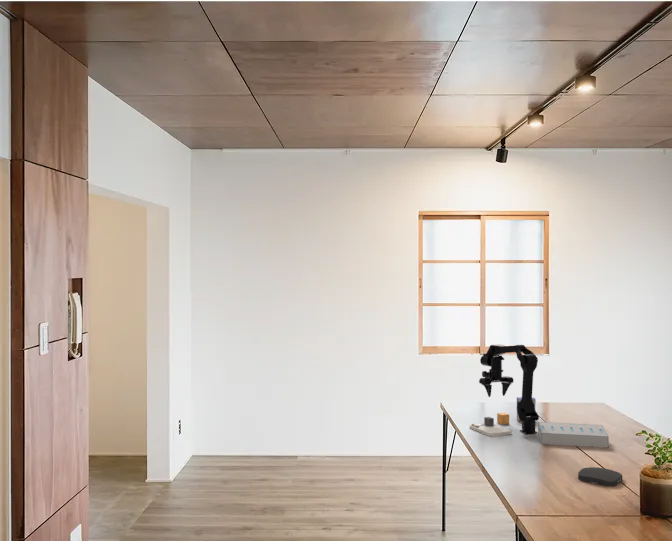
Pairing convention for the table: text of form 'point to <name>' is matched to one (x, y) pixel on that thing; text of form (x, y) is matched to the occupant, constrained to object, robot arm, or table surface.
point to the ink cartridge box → (520, 400)
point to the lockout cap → (503, 418)
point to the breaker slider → (488, 421)
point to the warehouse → (572, 434)
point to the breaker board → (490, 429)
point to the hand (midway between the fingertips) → (496, 396)
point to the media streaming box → (600, 476)
